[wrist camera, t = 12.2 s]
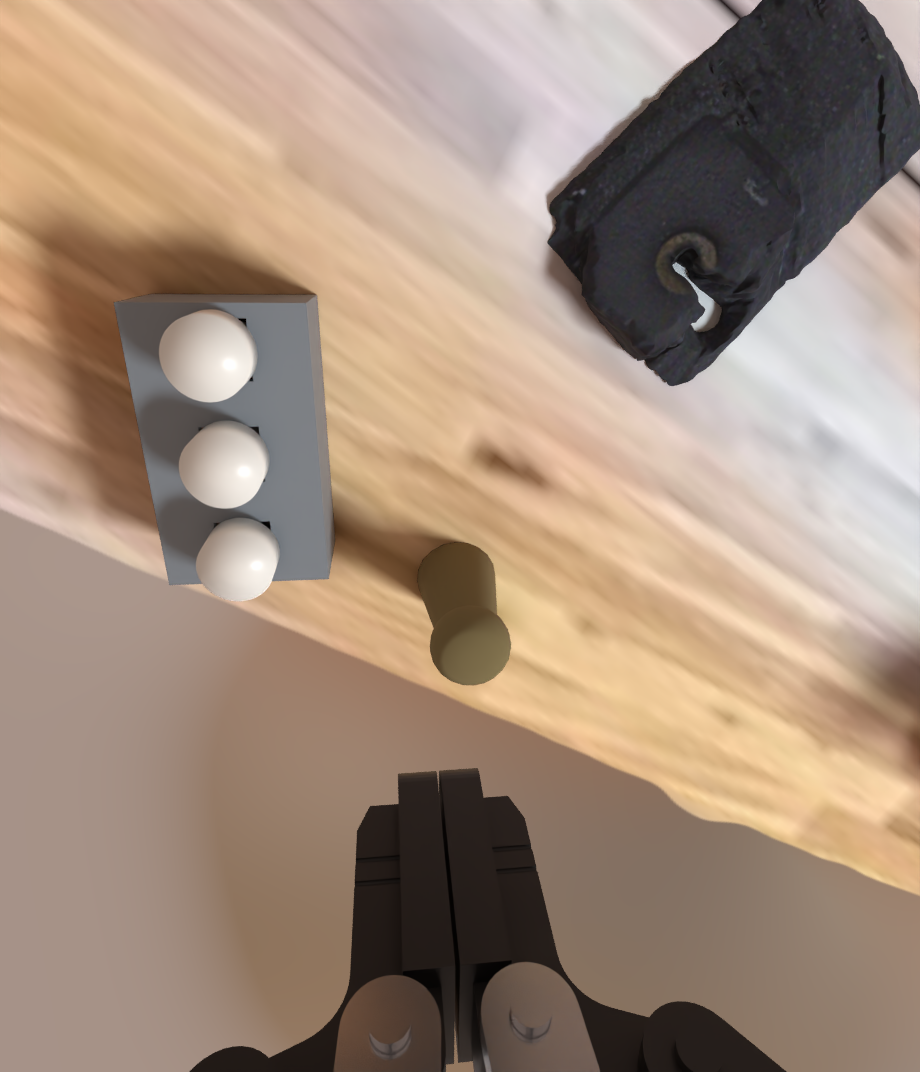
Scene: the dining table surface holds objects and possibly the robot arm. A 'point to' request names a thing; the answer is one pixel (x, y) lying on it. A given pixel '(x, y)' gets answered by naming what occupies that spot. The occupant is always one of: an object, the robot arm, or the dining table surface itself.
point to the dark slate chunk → (737, 177)
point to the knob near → (208, 355)
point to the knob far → (238, 559)
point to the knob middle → (224, 464)
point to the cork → (463, 614)
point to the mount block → (266, 401)
